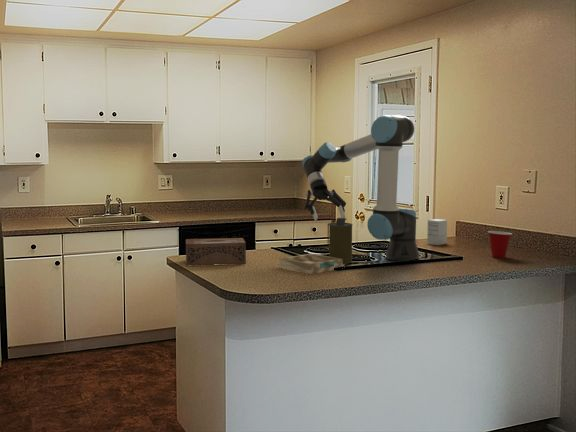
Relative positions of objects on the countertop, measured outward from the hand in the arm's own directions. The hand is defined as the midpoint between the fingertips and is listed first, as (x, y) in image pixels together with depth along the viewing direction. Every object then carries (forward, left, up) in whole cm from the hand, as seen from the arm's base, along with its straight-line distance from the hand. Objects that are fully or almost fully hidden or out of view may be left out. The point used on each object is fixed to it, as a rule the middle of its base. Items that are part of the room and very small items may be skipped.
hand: (330, 218), depth 318 cm
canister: (+4, +10, -19) cm, 22 cm away
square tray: (+22, +10, -19) cm, 30 cm away
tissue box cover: (+44, -29, -19) cm, 56 cm away
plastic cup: (-61, +50, -19) cm, 81 cm away
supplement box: (-74, +6, -19) cm, 77 cm away
